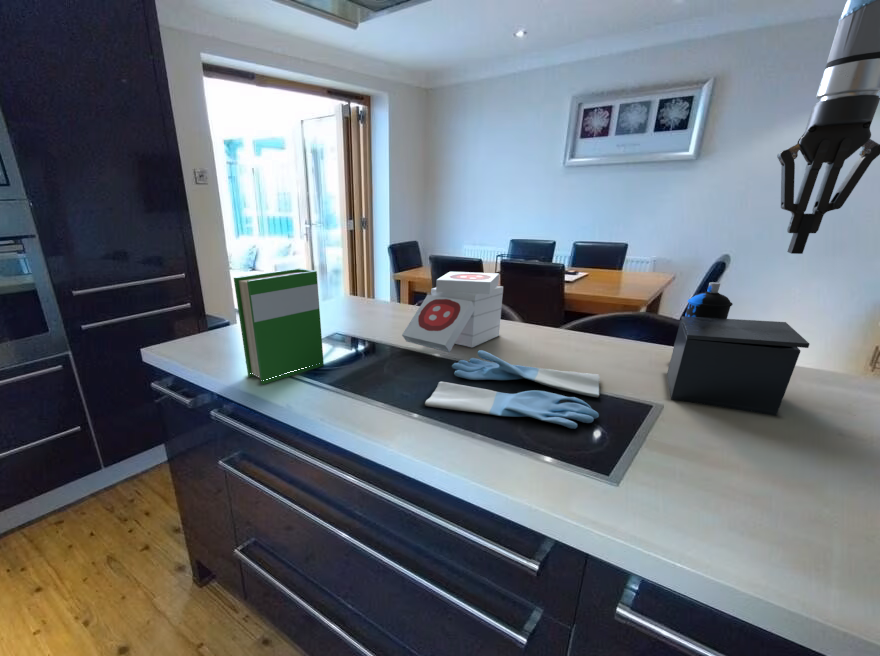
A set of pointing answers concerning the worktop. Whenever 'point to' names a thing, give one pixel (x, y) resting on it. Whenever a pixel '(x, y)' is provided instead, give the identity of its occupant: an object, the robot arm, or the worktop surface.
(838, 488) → the worktop surface
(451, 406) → the rubber gloves
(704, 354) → the bin
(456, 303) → the pizza boxes
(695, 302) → the aerosol can
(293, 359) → the hardback book
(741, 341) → the bin lid
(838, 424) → the worktop surface
